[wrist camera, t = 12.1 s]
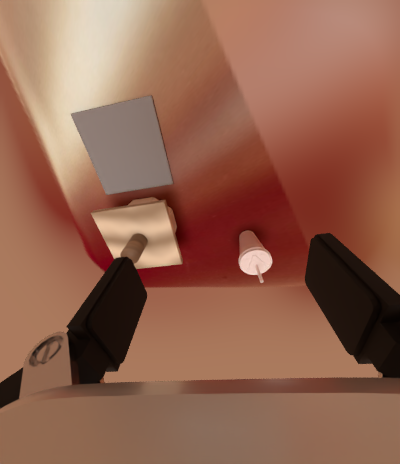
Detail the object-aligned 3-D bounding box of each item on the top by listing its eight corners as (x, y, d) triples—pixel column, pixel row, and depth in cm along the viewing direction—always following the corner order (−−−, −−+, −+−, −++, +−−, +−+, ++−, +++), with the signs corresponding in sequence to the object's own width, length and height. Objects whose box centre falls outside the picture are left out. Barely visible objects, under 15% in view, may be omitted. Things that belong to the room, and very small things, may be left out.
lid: (94, 210, 34) (72, 226, 29) (165, 199, 33) (156, 214, 27) (122, 266, 41) (109, 288, 36) (182, 260, 40) (178, 282, 34)
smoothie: (237, 250, 46) (247, 295, 34) (230, 229, 43) (238, 270, 31) (263, 243, 45) (282, 287, 33) (257, 221, 42) (277, 261, 30)
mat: (72, 114, 33) (70, 113, 32) (152, 95, 31) (151, 95, 30) (107, 194, 40) (106, 194, 40) (173, 183, 38) (173, 183, 38)
